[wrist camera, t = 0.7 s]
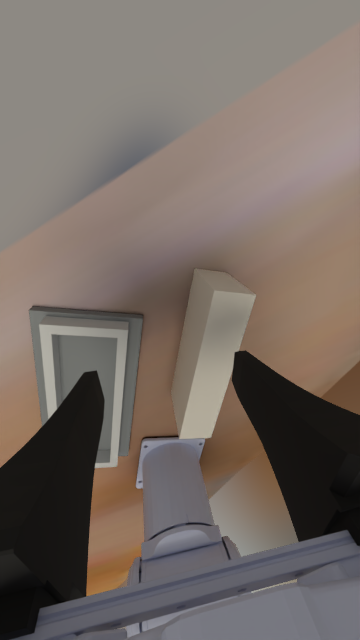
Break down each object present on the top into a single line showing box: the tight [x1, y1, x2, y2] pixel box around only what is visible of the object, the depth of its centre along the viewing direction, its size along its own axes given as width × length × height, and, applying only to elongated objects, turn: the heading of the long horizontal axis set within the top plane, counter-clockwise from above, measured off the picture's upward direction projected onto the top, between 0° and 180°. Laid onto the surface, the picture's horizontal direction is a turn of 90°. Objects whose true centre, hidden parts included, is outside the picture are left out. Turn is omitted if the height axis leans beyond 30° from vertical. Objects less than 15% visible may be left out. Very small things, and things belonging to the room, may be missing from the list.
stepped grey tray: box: [29, 306, 143, 468], centre depth 23 cm, size 18×9×2 cm, turn 171°
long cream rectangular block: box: [171, 268, 256, 439], centre depth 21 cm, size 14×3×6 cm, turn 171°
